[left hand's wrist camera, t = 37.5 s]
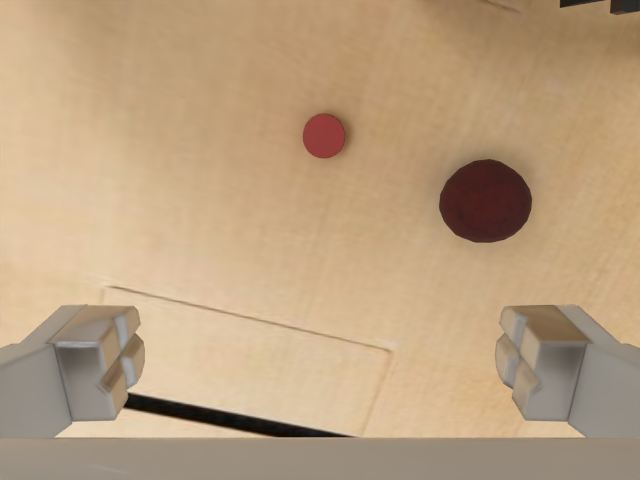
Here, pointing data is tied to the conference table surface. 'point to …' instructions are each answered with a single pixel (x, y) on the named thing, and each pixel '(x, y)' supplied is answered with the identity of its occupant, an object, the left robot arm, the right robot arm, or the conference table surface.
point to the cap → (323, 136)
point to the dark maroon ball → (485, 201)
